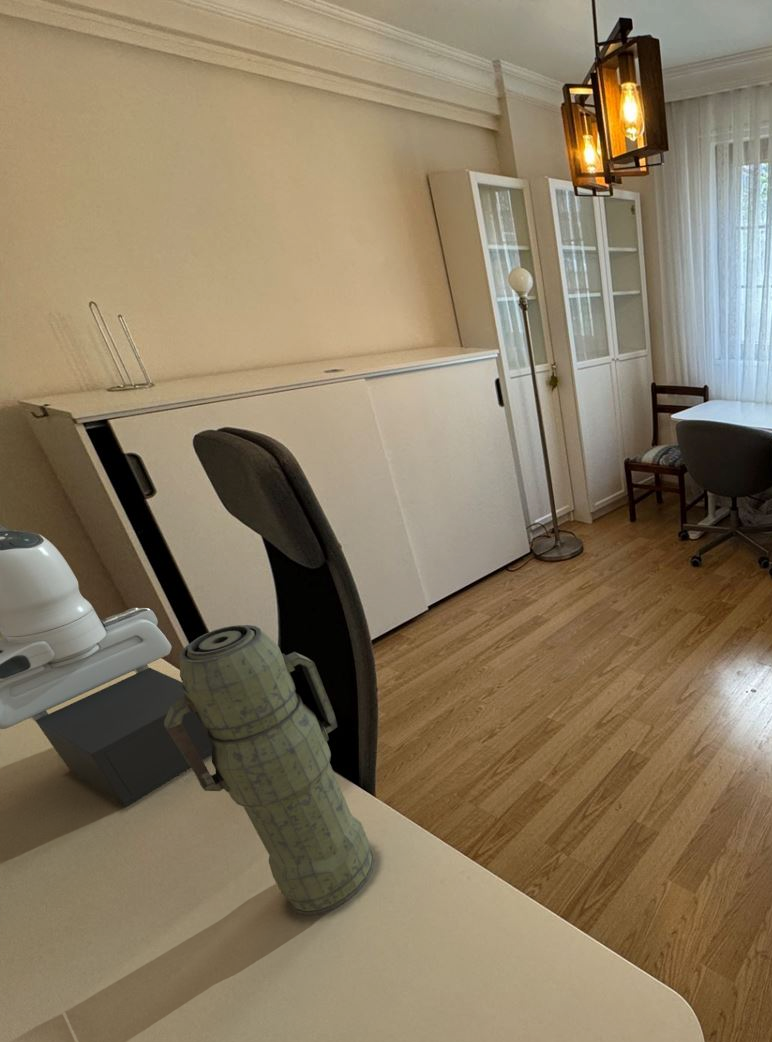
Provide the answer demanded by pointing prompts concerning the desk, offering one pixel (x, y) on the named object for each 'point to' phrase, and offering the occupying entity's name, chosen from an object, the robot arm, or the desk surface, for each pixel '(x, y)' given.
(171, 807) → the desk surface
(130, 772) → the cabinet
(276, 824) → the thermos
